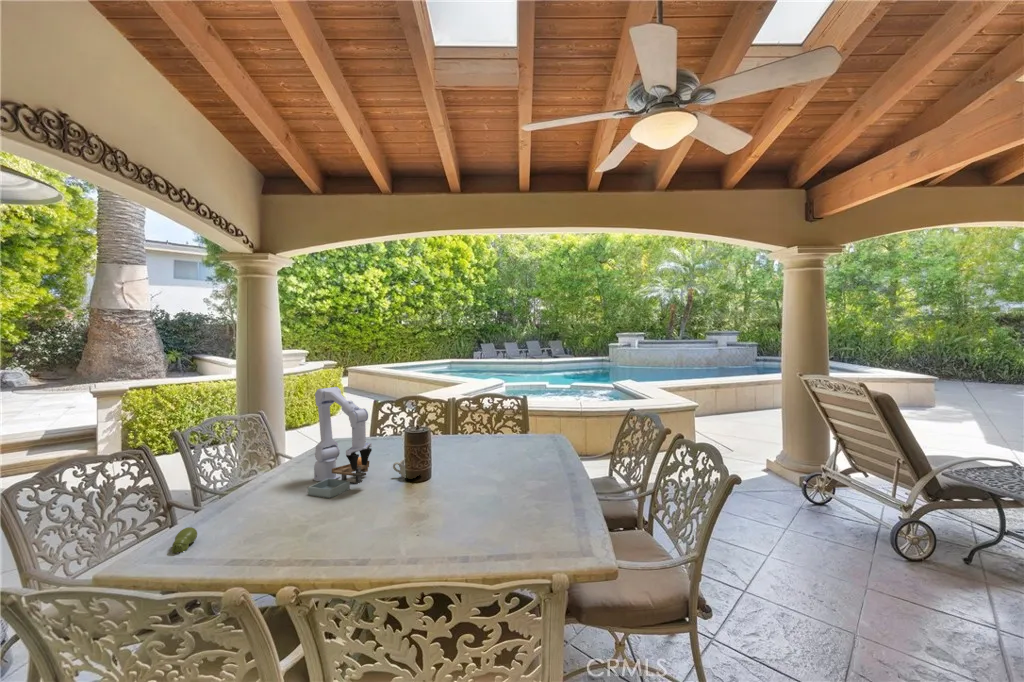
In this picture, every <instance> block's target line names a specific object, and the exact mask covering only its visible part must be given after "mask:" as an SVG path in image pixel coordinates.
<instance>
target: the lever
mask: <svg viewBox="0 0 1024 682" xmlns="http://www.w3.org/2000/svg"><path fill="white" fill-rule="evenodd" d="M358 467H361V472H357V473H356V470H353V469H352V468H351V464H350V463H348V464H344V465H340V466H336V468H332V473H334V474H336V475H341V476H342V475H347V476H351V477H355V478H356V477H361V478H362V477H364V476H367V472H368V471H369V468H370V460H368V461H367V465H358V464H357V468H358Z"/></svg>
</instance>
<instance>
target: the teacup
mask: <svg viewBox="0 0 1024 682" xmlns="http://www.w3.org/2000/svg"><path fill="white" fill-rule="evenodd" d="M396 465H398V466H399V469H397V467H396ZM392 468H393V470H394V471H395V472H396V473H398V474H399V475H400V476H401V477H402V478H404V479H405V475H406V474H405V465H404V459H401V460H400V461H395V462H394V463H393V464H392Z"/></svg>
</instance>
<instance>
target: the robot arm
mask: <svg viewBox="0 0 1024 682" xmlns="http://www.w3.org/2000/svg"><path fill="white" fill-rule="evenodd" d="M314 401H315V406H316V407H317V409H318V410H317V413H318V422H319V424H318V425H319V432H320V433H319V434H320V442H318V444H317V445H315V452H314V457H315V460H316V461H315V463H314V465H313V466H314V467H313V476H314V478H313V479H312V480H313V481H317V482H321V481H323V480H325V479H328V478H331V479H340V478H341V476H340V475H337V474H334V473H332V468H336V467H337V460H338V457H339V456H340V454H341V452H340V451H341V449H340V447H339V444H338V441H336V440H334V439H333V431H332V429H333V428H332V419H331V406H332V405H333V404H334V403H336V404H338V405H339V406H340V407H341V412H343V413H344V414H345V415H347V417H348V420H349V423H350V427H351V447H350V448H348V449H346V450H345V456H346V458H347V459H348V462H349V464H351V468H352V469H353V470H356V469H357V461H358V458H359V457H361V462H362V465H367V461H369V457H370V454H371V453H372V451H373V449H372V442H366V441H367V438H366V436H367V435H366V429H367V428H366V427H367V426H366V422H367V421H368V419H369V412H368V411H367V409H366V408H364V407H363V408H360V407H359V406H358V405H357V404H355V402H354V401H352V400H347V399H346V397H344V396H343V394H342V391H341V388H339V387H338V386H333V387H325V388H317V389H316V392H315V393H314ZM357 452H359V453H360V454H358V453H357Z"/></svg>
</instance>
